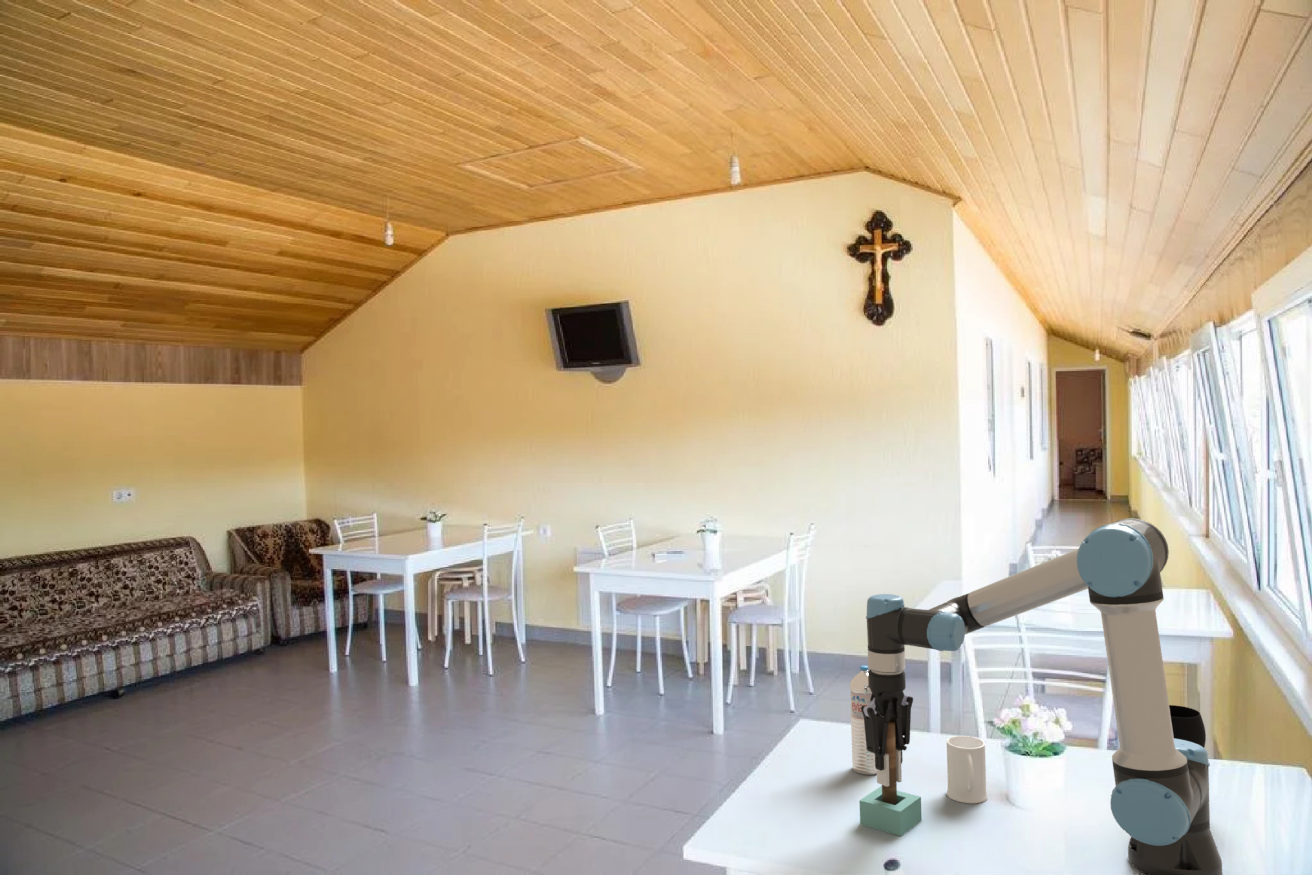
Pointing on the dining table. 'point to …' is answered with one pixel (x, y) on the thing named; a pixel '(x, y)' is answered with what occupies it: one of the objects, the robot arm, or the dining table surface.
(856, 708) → the water bottle
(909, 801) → the block with square hole
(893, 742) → the dowel
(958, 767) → the mug
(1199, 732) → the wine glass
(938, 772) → the dining table surface
